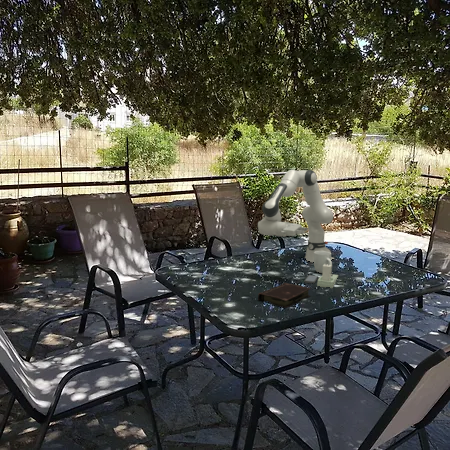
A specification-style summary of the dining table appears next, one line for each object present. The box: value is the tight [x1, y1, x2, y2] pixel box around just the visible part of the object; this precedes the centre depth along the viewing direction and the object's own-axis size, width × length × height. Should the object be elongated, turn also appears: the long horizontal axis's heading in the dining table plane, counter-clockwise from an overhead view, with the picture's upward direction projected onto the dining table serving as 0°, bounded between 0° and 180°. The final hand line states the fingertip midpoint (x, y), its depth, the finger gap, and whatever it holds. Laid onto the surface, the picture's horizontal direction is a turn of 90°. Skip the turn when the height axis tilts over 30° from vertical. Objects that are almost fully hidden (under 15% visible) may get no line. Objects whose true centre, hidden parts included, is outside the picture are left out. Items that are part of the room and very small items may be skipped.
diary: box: [257, 282, 312, 308], centre depth 240 cm, size 19×25×5 cm
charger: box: [321, 263, 333, 281], centre depth 263 cm, size 4×4×11 cm
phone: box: [303, 274, 319, 285], centre depth 273 cm, size 13×6×1 cm, turn 158°
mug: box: [313, 251, 333, 274], centre depth 289 cm, size 15×11×13 cm
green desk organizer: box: [316, 273, 339, 289], centre depth 270 cm, size 22×9×4 cm, turn 158°
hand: (305, 230), depth 265 cm, fingers open, 8 cm apart
